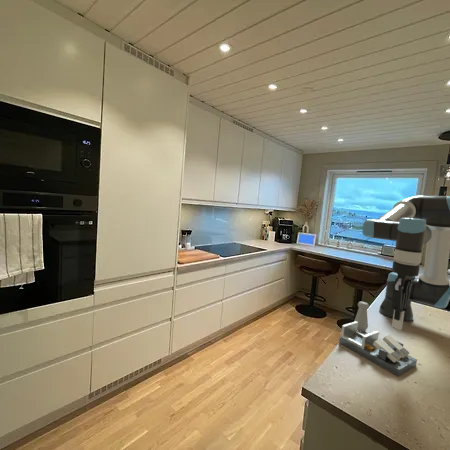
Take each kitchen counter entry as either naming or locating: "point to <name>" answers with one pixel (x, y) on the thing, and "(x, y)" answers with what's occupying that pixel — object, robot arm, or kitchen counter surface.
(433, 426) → the kitchen counter surface
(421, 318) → the kitchen counter surface
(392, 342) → the rocker
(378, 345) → the rocker
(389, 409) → the kitchen counter surface
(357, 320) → the salt shaker
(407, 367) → the grey mechanical fixture
